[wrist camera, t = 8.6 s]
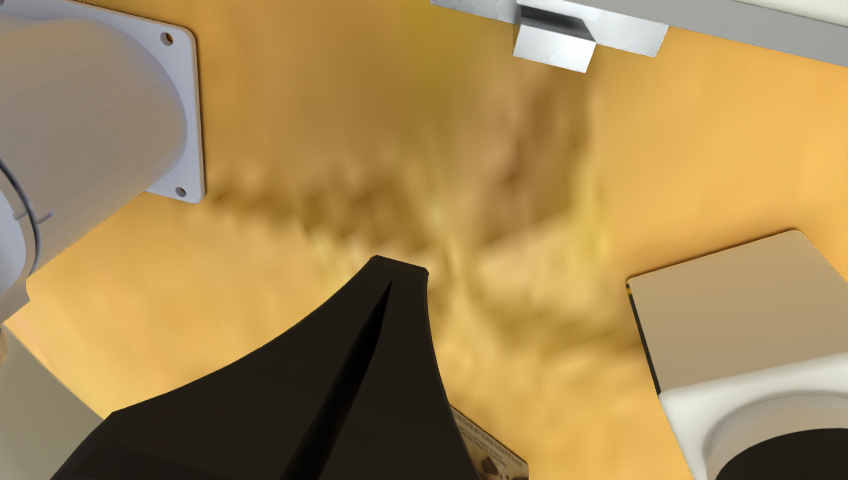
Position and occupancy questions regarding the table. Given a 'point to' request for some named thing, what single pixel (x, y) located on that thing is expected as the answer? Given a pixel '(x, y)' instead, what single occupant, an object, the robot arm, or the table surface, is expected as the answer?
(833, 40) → the beam
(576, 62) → the pivot stand
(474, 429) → the coffee box
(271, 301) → the table surface
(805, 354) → the medicine bottle
